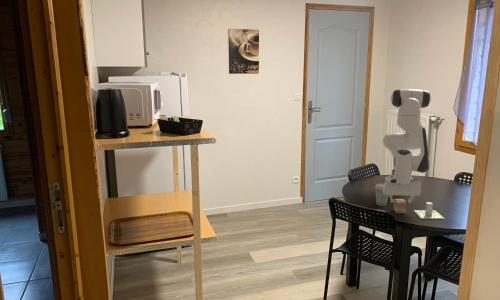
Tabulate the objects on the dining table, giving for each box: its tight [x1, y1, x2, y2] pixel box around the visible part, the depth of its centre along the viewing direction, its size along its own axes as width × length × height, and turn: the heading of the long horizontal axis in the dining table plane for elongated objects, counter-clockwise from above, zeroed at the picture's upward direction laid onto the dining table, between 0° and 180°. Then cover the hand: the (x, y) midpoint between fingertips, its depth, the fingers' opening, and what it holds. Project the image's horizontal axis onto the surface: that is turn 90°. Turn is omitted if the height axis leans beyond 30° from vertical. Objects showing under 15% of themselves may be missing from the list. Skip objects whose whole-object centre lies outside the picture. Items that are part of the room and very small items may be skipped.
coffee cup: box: [374, 182, 389, 207], centre depth 225 cm, size 8×8×12 cm
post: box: [413, 201, 445, 220], centre depth 208 cm, size 12×12×7 cm
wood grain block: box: [393, 198, 408, 214], centre depth 214 cm, size 5×5×7 cm
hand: (400, 202), depth 212 cm, fingers open, 8 cm apart
